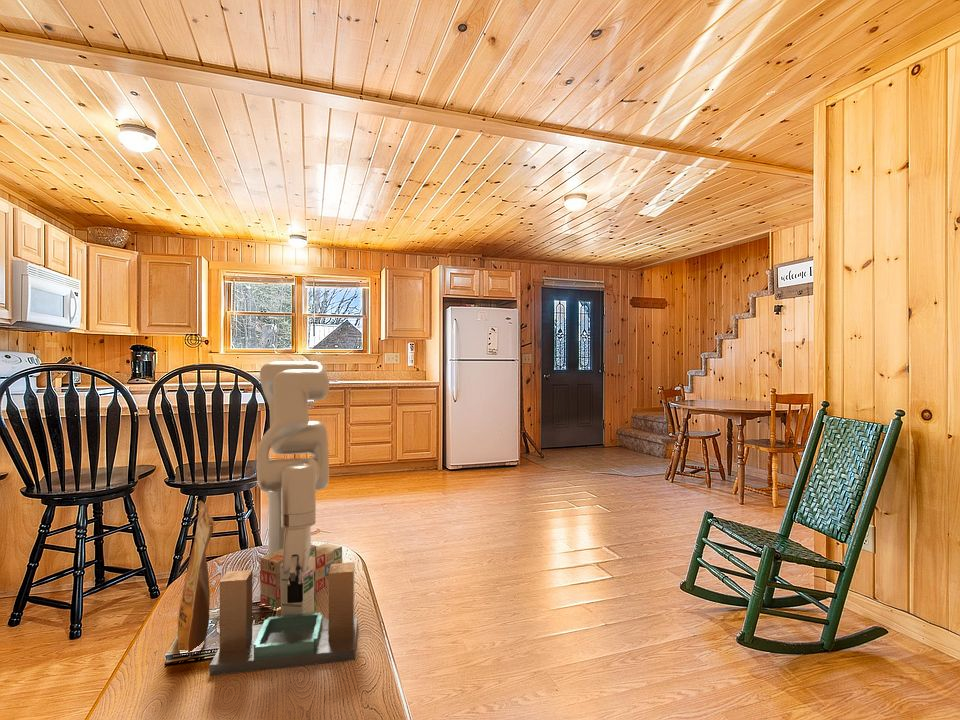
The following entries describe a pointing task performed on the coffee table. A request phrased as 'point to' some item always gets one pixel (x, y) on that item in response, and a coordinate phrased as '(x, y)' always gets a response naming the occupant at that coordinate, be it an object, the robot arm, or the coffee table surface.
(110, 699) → the coffee table surface
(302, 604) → the syrup box
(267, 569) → the stack of blocks
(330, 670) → the coffee table surface
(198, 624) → the pancake mix bag
